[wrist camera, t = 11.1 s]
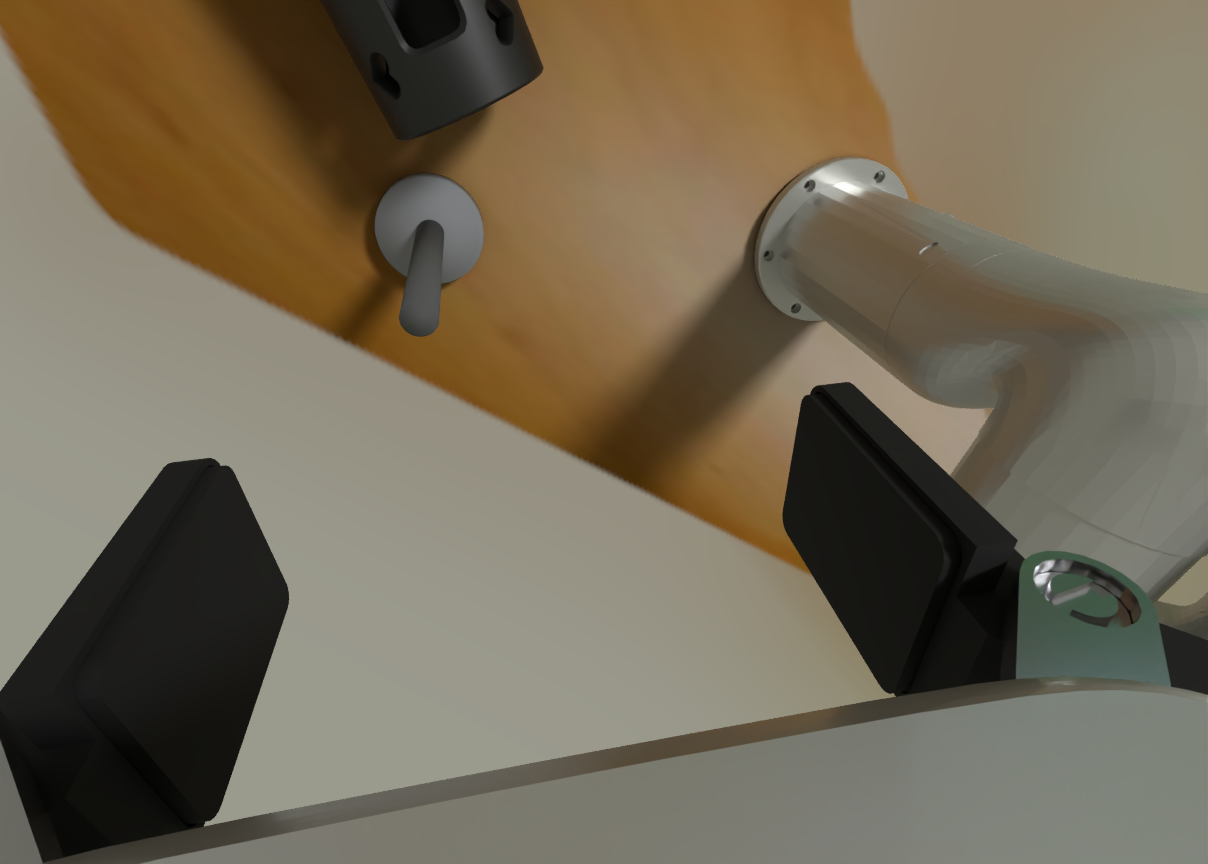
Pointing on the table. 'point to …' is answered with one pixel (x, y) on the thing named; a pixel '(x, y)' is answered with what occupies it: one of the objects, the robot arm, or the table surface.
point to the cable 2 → (427, 242)
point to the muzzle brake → (436, 56)
